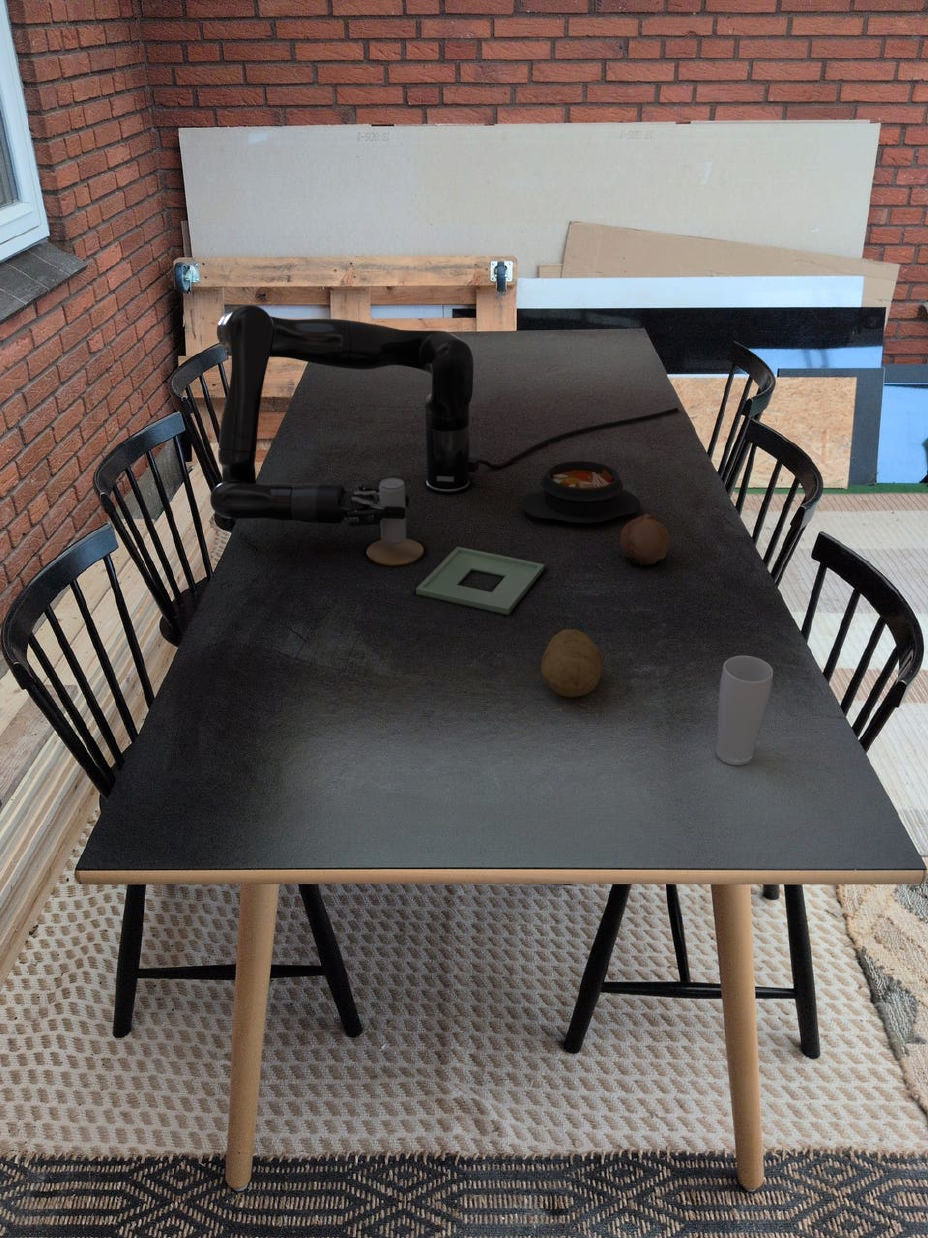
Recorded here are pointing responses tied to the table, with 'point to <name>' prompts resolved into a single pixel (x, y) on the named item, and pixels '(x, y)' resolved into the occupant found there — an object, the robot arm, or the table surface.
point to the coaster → (395, 552)
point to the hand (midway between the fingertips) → (406, 506)
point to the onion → (644, 540)
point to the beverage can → (394, 496)
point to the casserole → (580, 494)
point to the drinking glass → (742, 706)
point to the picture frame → (464, 560)
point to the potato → (571, 664)
